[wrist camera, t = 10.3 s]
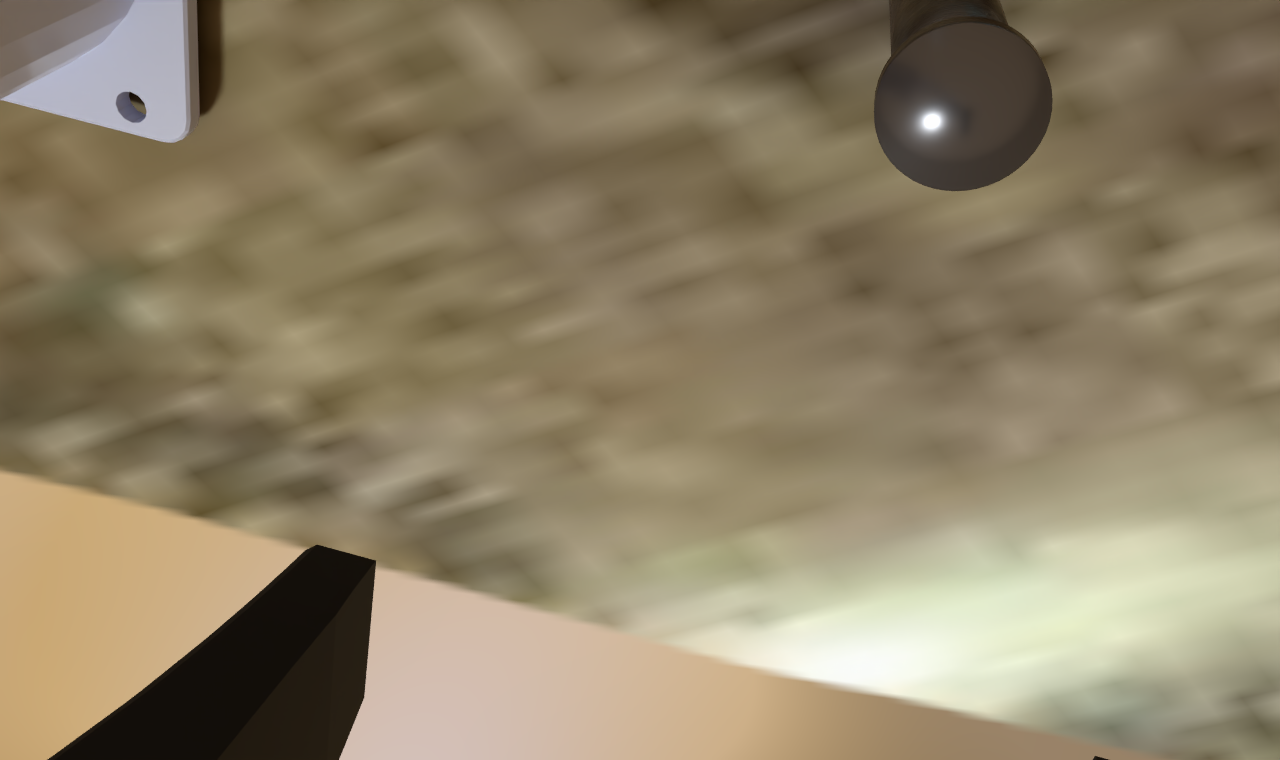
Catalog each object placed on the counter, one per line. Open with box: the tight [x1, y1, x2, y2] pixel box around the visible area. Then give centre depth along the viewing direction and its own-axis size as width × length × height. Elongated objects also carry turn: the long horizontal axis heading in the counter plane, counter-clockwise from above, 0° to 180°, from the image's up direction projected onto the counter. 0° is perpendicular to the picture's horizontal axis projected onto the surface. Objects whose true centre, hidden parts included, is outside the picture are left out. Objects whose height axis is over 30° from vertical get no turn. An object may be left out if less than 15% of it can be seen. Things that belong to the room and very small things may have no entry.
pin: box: [874, 0, 1052, 191], centre depth 14 cm, size 2×2×5 cm
